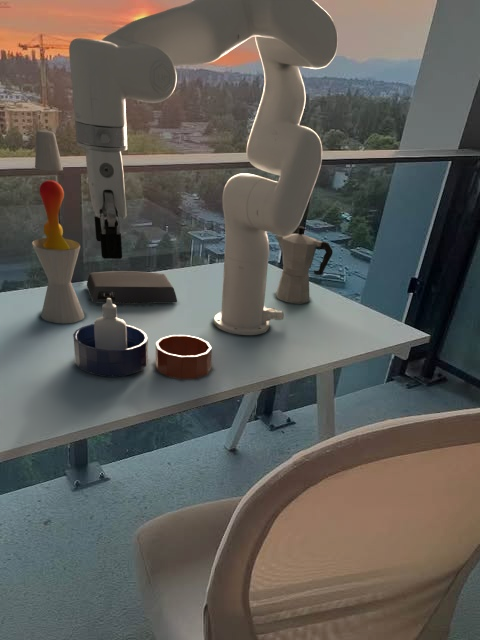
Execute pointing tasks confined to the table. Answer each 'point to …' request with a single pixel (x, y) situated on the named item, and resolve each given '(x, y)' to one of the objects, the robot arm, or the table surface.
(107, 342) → the eye dropper bottle
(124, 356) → the bowl
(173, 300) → the hard drive
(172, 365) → the brown round container
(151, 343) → the table surface
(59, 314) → the lava lamp
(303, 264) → the coffeepot
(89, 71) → the robot arm
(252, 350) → the table surface
